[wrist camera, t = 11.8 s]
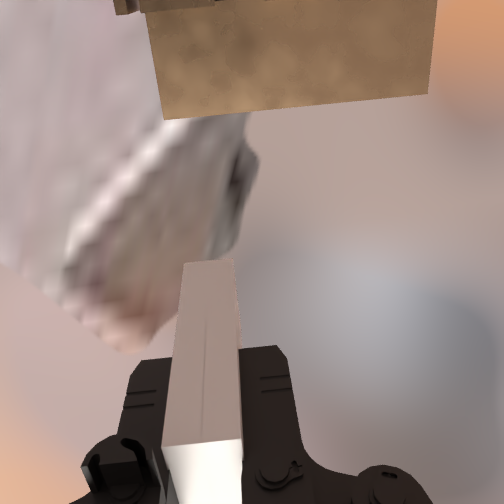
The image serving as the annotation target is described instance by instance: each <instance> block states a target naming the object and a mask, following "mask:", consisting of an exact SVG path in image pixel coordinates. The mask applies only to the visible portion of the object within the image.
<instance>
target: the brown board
mask: <svg viewBox="0 0 504 504" xmlns="http://www.w3.org/2000/svg"><path fill="white" fill-rule="evenodd" d="M113 2H114V7H115V12H116V15H127V14H130V13H133V12H136V11H139V10H140V12H141V13H145V16H146V21H147V27H148V33H149V38H150V44H151V50H152V55H153V61H154V66H155V72H156V78H157V83H158V89H159V95H160V100H161V106H162V111H163V117H164V120H170V119H180V118H190V117H200V116H210V115H220V114H231V113H241V112H251V111H260V110H271V109H281V108H291V107H301V106H311V105H321V104H331V103H341V102H351V101H361V100H371V99H382V98H391V97H401V96H412V95H421V94H428V83H429V75H430V65H431V56H432V46H433V37H434V27H435V18H436V8H437V0H217V1H215V0H113Z"/></svg>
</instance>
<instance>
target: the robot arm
mask: <svg viewBox="0 0 504 504" xmlns="http://www.w3.org/2000/svg"><path fill="white" fill-rule="evenodd" d="M126 394H127V395H126V397H125V401H124V406H123V411H122V414H121V418H120V423H119V427H118V432H117V434H116V435H112V436H109V437H108V438H106V439H104V440H102V441H101V442H99V443H97V444H96V445H95V446H94V447H93V448H92V449H91V450H90V451H89V452H88V454H87V455H86V457H85V459H84V461H83V463H82V465H81V469H82V471H83V474H84V476H85V478H86V481H87V483H88V485H89V488H90V490H91V491H90V492H89V493H88V494H86V495H85V496H84V497H82V498H80V499H78V500H76V501H74V502H72V503H69V504H433V503H432V501H431V500H430V499H429V497H428V495H427V494H426V493H425V491H424V490H423V488H422V486H421V485H420V484H419V483H418V482H417V481H416V480H415V479H414V478H413V477H412V476H411V475H410V474H408V473H406V472H404V471H403V470H401V469H399V468H397V467H392V466H387V465H378V466H372V467H369V468H367V469H366V470H364V471H362V472H361V473H359V475H358V476H352V475H347V474H342V473H338V472H334V471H331V470H328V469H325V468H324V467H322V466H320V465H319V464H317V463H316V462H315V461H314V460H312V459H311V458H310V457H309V455H308V454H307V452H306V450H305V449H304V446H303V443H302V440H301V434H300V428H299V423H298V417H297V412H296V406H295V400H294V395H293V390H292V384H291V378H290V373H289V367H288V361H287V358H286V356H285V355H284V354H283V353H282V351H281V350H280V349H279V348H278V346H277V345H273V346H263V347H253V348H244V349H242V336H241V324H240V315H239V307H238V299H237V290H236V283H235V274H234V267H233V258H229V259H219V260H209V261H199V262H190V263H184V269H183V277H182V285H181V293H180V301H179V309H178V317H177V325H176V333H175V341H174V349H173V357H169V358H160V359H150V360H141V362H140V363H139V364H138V366H137V367H136V368H135V370H134V371H133V373H132V374H131V375H130V379H129V383H128V387H127V392H126Z"/></svg>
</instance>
